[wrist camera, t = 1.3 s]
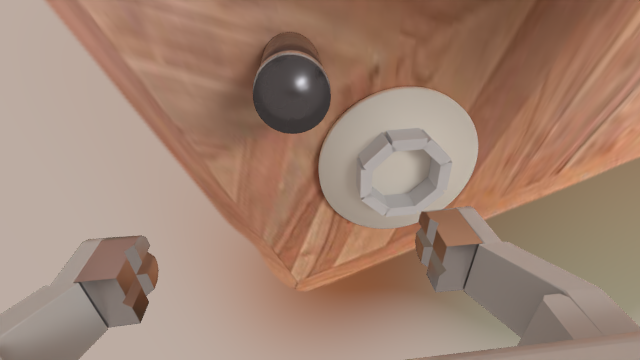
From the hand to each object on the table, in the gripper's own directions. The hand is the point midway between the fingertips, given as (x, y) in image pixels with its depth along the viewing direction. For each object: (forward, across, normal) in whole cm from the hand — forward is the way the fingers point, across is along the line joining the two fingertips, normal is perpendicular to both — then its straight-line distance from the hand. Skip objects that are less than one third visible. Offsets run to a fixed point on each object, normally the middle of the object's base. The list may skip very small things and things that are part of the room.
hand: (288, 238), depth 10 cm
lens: (+24, -1, 0) cm, 24 cm away
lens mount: (+24, -12, +12) cm, 29 cm away
